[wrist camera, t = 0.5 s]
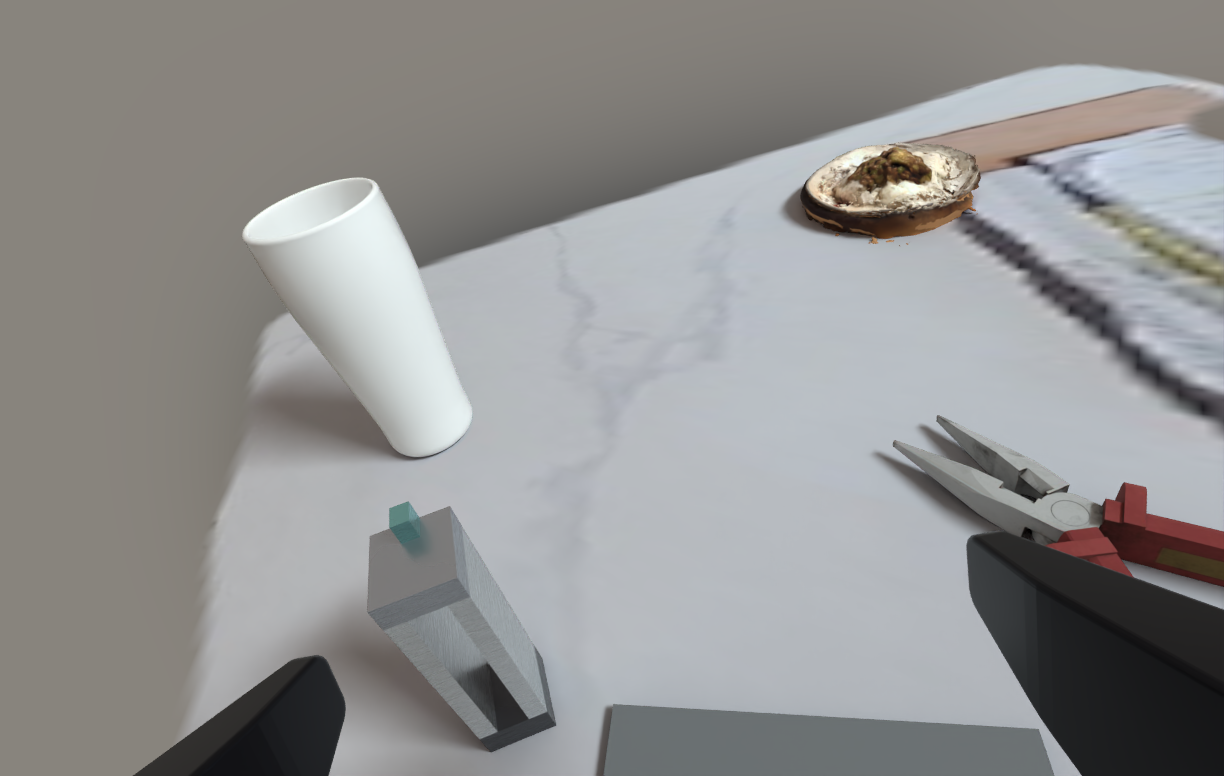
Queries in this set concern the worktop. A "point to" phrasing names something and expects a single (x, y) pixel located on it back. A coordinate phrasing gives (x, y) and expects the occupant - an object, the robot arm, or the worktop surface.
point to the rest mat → (811, 746)
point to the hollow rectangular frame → (457, 625)
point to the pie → (891, 189)
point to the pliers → (1070, 511)
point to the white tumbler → (364, 308)
